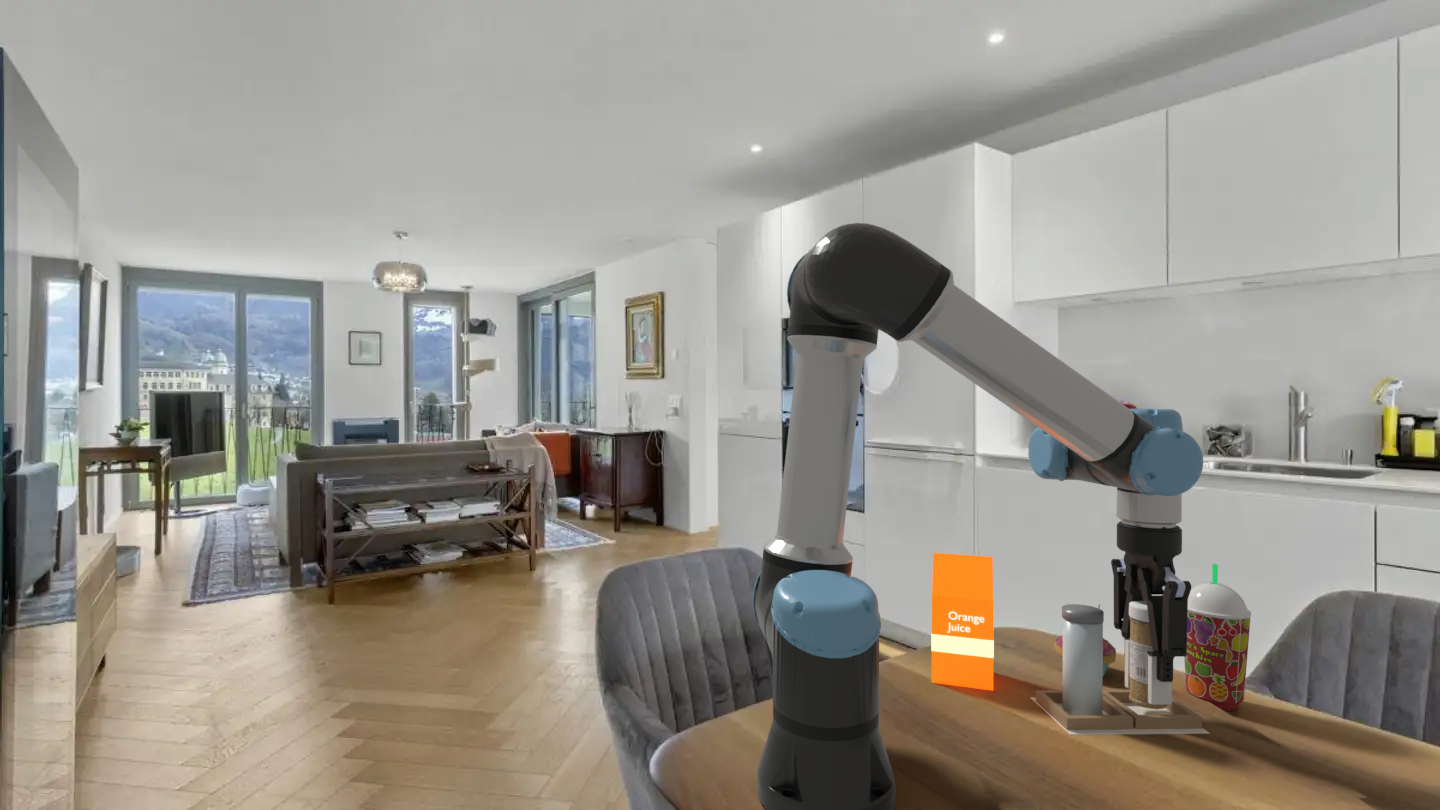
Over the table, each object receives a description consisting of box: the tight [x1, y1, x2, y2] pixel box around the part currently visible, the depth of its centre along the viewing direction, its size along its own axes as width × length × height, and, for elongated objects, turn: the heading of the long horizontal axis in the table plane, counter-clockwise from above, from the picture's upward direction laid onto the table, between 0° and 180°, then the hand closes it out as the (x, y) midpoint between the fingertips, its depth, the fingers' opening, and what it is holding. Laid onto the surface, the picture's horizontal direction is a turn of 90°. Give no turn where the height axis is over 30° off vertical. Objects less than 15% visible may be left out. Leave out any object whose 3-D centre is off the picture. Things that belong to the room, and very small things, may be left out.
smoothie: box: [1183, 563, 1252, 712], centre depth 101 cm, size 8×8×20 cm
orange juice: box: [930, 552, 995, 692], centre depth 107 cm, size 8×9×20 cm
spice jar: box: [1129, 601, 1167, 709], centre depth 94 cm, size 5×5×14 cm
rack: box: [1030, 689, 1211, 736], centre depth 94 cm, size 18×11×3 cm, turn 91°
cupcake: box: [1053, 603, 1117, 677], centre depth 109 cm, size 9×8×12 cm
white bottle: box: [1061, 603, 1105, 716], centre depth 94 cm, size 5×5×14 cm
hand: (1147, 694), depth 94 cm, fingers closed on spice jar, 4 cm apart
